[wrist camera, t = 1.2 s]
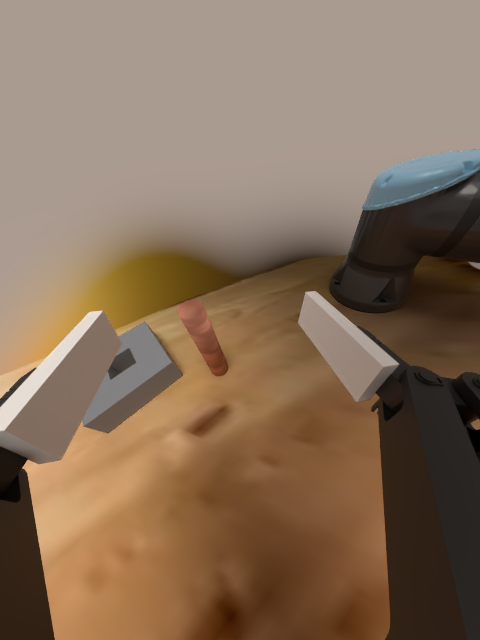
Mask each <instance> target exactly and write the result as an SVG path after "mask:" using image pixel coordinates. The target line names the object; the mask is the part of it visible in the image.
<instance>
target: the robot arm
mask: <svg viewBox="0 0 480 640" xmlns="http://www.w3.org/2000/svg"><path fill="white" fill-rule="evenodd" d="M362 208H363V211H362V214H361V217H360V220H359V224H358V226H357V229H356V232H355V235H354V238H353V241H352V244H351V247H350V250H349V253H348V256H347V257H346V259H345V260H344V261H343V263H342V264H341V265H340V267H339V268H338V269H337V271H336V272H335V273H334V275H333V277H332V279H331V283H330V292H331V294H332V295H333V296H334V298H335V299H336V300H338V301H339V302H340V303H342V304H344V305H346V306H348V307H350V308H353V309H356V310H359V311H364V312H371V313H381V312H388V311H392V310H395V309H397V308H398V307H400V306H401V305H402V304H403V303H404V301H405V300H406V298H407V297H408V295H409V293H410V289H411V284H412V279H413V274H414V269H415V267H416V265H417V264H418V262H419V261H420V259H421V258H422V257H423V256H433V257H441V258H448V259H454V260H461V261H468V262H475V263H480V150H476V149H475V150H466V151H461V152H460V151H453V152H447V153H441V154H436V155H430V156H426V157H422V158H417V159H414V160H410V161H406V162H403V163H400V164H397V165H394V166H392V167H390V168H388V169H386V170H385V171H383V172H382V173H381V174H379V175H378V176H377V178H376V179H375V180H374V182H373V184H372V186H371V189H370V191H369V194H368V196H367V199H366V201H365V203H364V204H363V207H362ZM298 324H299V325H300V326H301V328H302V329H303V330H304V332H305V333H306V334H307V336H308V337H309V339H310V340H311V341H312V343H313V344H314V345H315V347H316V348H317V349H318V351H319V352H320V353H321V355H322V356H323V357H324V359H325V360H326V362H327V363H328V364H329V366H330V367H331V368H332V370H333V371H334V372H335V374H336V375H337V376H338V378H339V379H340V381H341V382H342V383H343V385H344V386H345V387H346V389H347V390H348V391H349V393H350V394H351V395H352V397H353V398H354V400H355V401H356V402H360V401H365V400H370V399H371V398H372V396H373V395H374V394H375V393H376V394H377V395H378V396H379V397H380V399H379V400H378V401H377V402H376V403H375V404H374V405H373V406H372V408H371V411H372V412H374V411H375V410H376V409H377V407H378V412H377V414H378V416H379V433H380V450H381V466H382V483H383V500H384V516H385V533H386V550H387V567H388V583H389V600H390V630H389V633H388V635H387V637H386V639H385V640H480V429H479V430H476V429H474V428H473V427H472V425H471V424H470V423H471V422H473V421H475V420H477V419H478V418H479V419H480V374H476V373H471V372H465V373H463V374H461V375H460V376H459V377H458V378H456V379H450V378H443V377H439V376H438V375H437V374H435V373H433V372H432V371H430V370H427V369H425V368H423V367H418V366H409V365H408V364H407V363H406V362H404V361H403V360H402V359H401V358H400V357H398V356H397V355H396V354H395V353H394V352H392V351H391V350H390V349H389V348H388V347H386V346H385V345H384V344H382V342H380V341H379V340H378V339H376V337H374V336H373V335H372V334H371V333H370V332H369V331H367V330H365V329H363V328H361V327H359V326H355V325H354V324H353V323H352V322H350V321H349V320H348V319H347V318H346V317H345V316H344V315H342V314H341V313H340V312H339V311H338V310H337V309H335V308H334V307H333V306H332V305H331V304H330V303H329V302H327V301H326V300H325V299H324V298H323V297H322V296H321V295H319V294H318V293H317V292H316V291H312V292H306V293H305V297H304V301H303V305H302V309H301V313H300V317H299V321H298ZM121 345H122V343H121V341H120V339H119V337H118V336H117V334H116V332H115V330H114V328H113V327H112V325H111V323H110V322H109V320H108V318H107V316H106V314H105V313H104V311H94V312H89V313H88V314H87V315H86V316H85V317H84V318H83V319H82V321H81V322H80V323H79V324H78V325H77V326H76V327H75V328H74V329H73V330H72V331H71V332H70V333H69V334H68V335H67V336H66V338H65V339H64V340H63V341H62V342H61V343H60V344H59V345H58V346H57V347H56V348H55V349H54V350H53V352H52V353H51V354H50V355H49V356H48V357H47V358H46V359H45V360H44V361H43V362H42V363H41V364H40V365H39V366H38V367H37V368H34V369H33V370H31V371H30V372H28V373H27V374H26V375H24V376H23V377H21V378H20V379H19V380H18V381H17V382H16V383H15V384H14V385H13V386H12V387H11V388H10V389H9V390H10V391H9V392H6V393H5V394H4V396H3V397H2V398H1V399H0V640H55V638H54V632H53V626H52V620H51V614H50V608H49V602H48V596H47V590H46V584H45V578H44V572H43V566H42V560H41V554H40V548H39V542H38V536H37V530H36V524H35V518H34V512H33V506H32V500H31V494H30V488H29V482H28V476H27V472H26V471H25V469H22V467H23V466H24V464H25V463H26V461H27V460H30V461H33V462H35V463H37V464H43V463H48V462H53V461H58V460H61V459H62V457H63V455H64V453H65V452H66V450H67V448H68V446H69V444H70V442H71V440H72V438H73V436H74V434H75V432H76V431H77V429H78V427H79V425H80V423H81V421H82V419H83V417H84V415H85V413H86V411H87V410H88V408H89V406H90V404H91V402H92V400H93V398H94V396H95V394H96V392H97V390H98V389H99V387H100V385H101V383H102V381H103V379H104V377H105V375H106V373H107V371H108V370H109V368H110V366H111V364H112V362H113V360H114V358H115V356H116V354H117V352H118V350H119V349H120V347H121Z"/></svg>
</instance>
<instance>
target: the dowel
mask: <svg viewBox="0 0 480 640" xmlns="http://www.w3.org/2000/svg"><path fill="white" fill-rule="evenodd" d="M177 312H178V315H179V316H180V318H181V320H182V322H183V323H184V325H185V327H186V328H187V330H188V332H189V334H190V335H191V337H192V339H193V340H194V342H195V344H196V345H197V347H198V349H199V351H200V352H201V354H202V356H203V357H204V359H205V361H206V363H207V364H208V366H209V368H210V369H211V371H212V373H213V374H214V375H215V376H222V375H224V374H225V373H226V372H227V370H228V364H227V362H226V359H225V357H224V355H223V352H222V350H221V347H220V345H219V342H218V340H217V337H216V335H215V333H214V330H213V328H212V325H211V323H210V320H209V318H208V316H207V313H206V311H205V308H204V306H203V303H202V302H201V301H200V300H197V299H192V300H188V301H186V302H184V303H182V304H181V305H180V306H179V308H178V311H177Z"/></svg>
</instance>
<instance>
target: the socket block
mask: <svg viewBox="0 0 480 640" xmlns="http://www.w3.org/2000/svg"><path fill="white" fill-rule="evenodd" d="M119 339H120V341H121V343H122V345H121V347H120V349H119V350H118V352H117V354H116V356H115V358H114V360H113V362H112V364H111V366H110V368H109V370H108V371H107V373H106V375H105V377H104V379H103V381H102V383H101V385H100V387H99V389H98V390H97V392H96V394H95V396H94V398H93V400H92V402H91V404H90V406H89V408H88V410H87V411H86V413H85V415H84V417H83V419H82V420H83V427H87V428H91V429H95V430H98V431H102V432H106V433H109V432H110V431H112V430H113V429H114V428H116V427H117V426H118V425H119V424H121V423H122V422H123V421H125V420H126V419H127V418H128V417H130V416H131V415H132V414H134V413H135V412H136V411H137V410H139V409H140V408H141V407H143V406H144V405H145V404H146V403H148V402H149V401H150V400H152V399H153V398H154V397H155V396H157V395H158V394H159V393H161V392H162V391H163V390H164V389H166V388H167V387H168V386H170V385H171V384H172V383H173V382H175V381H176V380H177V379H179V378H180V377H181V376H182V375H183V374H182V373H181V371H180V370H179V368H178V367H177V365H176V364H175V363H174V361H173V360H172V358H171V357H170V355H169V354H168V352H167V351H166V349H165V348H164V346H163V345H162V343H161V342H160V340H159V339H158V337H157V336H156V335H155V333H154V332H153V331H152V330H151V329H150V327H149V326H148V325H147V324H146V323H145V321H144V322H143V323H141V324H139V325H138V326H136V327H134V328H132V329H131V330H129V331H127V332H126V333H124V334H122V335H121V336H119Z"/></svg>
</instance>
